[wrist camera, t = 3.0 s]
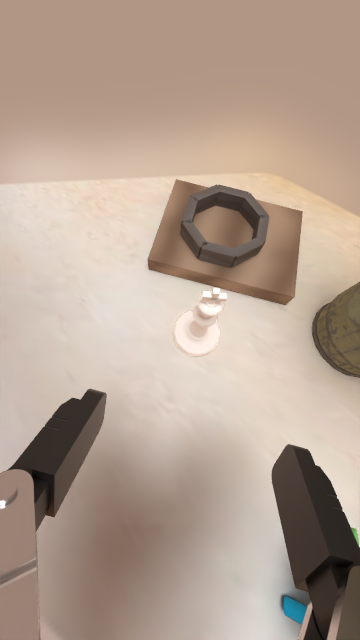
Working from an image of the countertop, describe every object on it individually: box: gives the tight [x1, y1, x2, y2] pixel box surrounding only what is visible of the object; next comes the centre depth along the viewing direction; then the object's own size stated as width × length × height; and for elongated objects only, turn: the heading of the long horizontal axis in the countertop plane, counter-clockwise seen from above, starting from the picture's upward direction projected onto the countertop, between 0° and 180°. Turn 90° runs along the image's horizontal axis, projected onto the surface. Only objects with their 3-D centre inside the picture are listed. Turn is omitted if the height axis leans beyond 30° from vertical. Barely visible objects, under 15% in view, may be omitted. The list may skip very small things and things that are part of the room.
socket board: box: [148, 180, 303, 305], centre depth 27 cm, size 16×12×4 cm
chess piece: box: [173, 288, 227, 357], centre depth 21 cm, size 5×5×10 cm
